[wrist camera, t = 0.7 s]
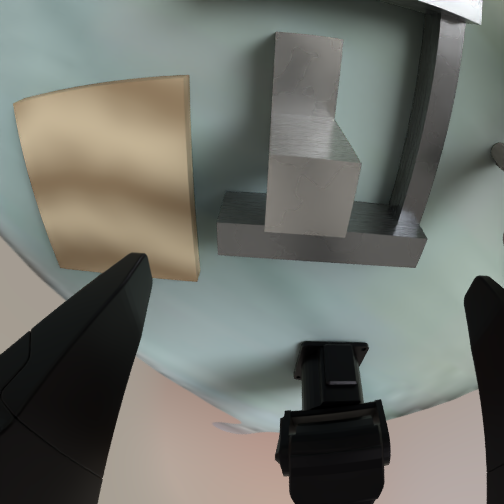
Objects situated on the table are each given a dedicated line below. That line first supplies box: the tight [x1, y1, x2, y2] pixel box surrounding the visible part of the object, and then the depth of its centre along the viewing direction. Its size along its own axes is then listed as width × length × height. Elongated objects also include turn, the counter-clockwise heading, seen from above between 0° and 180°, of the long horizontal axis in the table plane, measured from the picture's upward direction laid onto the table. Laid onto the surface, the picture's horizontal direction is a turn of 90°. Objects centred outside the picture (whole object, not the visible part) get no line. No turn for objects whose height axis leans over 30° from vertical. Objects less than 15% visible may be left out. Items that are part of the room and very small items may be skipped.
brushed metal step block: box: [264, 32, 362, 238], centre depth 13 cm, size 7×3×8 cm, turn 178°
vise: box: [217, 0, 483, 268], centre depth 14 cm, size 17×12×4 cm
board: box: [13, 75, 200, 282], centre depth 19 cm, size 14×12×1 cm
